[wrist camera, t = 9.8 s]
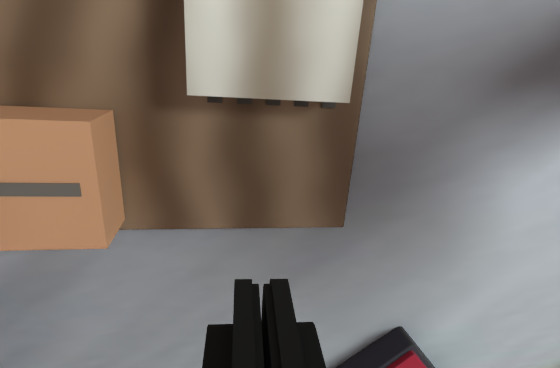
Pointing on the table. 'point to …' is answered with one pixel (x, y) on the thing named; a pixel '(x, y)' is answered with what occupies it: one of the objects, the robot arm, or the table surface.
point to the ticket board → (205, 100)
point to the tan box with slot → (58, 179)
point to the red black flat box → (390, 353)
